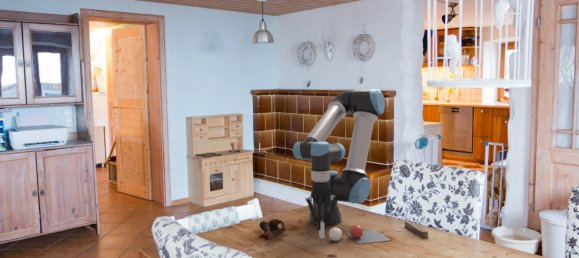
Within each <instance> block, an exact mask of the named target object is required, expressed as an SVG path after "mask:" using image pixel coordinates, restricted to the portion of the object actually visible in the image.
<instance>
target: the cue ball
mask: <svg viewBox="0 0 579 258" xmlns="http://www.w3.org/2000/svg"><path fill="white" fill-rule="evenodd" d="M328 237H329V239H330V240H331V241H332V242H333V241H334V242H337V241H340V240H341V239H342V237H343V232H342V230H341V229H340V228H339V227H332V228H330V229H329V232H328Z"/></svg>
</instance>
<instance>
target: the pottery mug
mask: <svg viewBox="0 0 579 258" xmlns="http://www.w3.org/2000/svg"><path fill="white" fill-rule="evenodd" d="M279 224H280V225H282V226H281V227H279ZM259 228H260V229H261V230H262V231H263V233H264V234H267V233H268V239H269V240H272V239H273V238H277V237H280V236H282V235H283V234H284V233H285V232H286V231H287V229H286V228H285V223H284V222H283V220H281V219H278V218H272V219H270V220H269V221H264V220H261V221H260V223H259Z"/></svg>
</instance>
